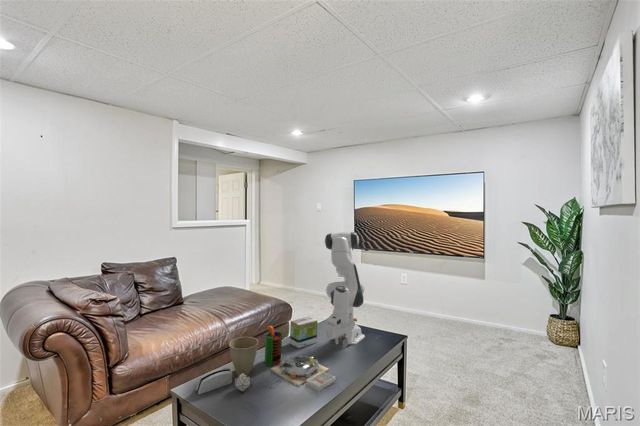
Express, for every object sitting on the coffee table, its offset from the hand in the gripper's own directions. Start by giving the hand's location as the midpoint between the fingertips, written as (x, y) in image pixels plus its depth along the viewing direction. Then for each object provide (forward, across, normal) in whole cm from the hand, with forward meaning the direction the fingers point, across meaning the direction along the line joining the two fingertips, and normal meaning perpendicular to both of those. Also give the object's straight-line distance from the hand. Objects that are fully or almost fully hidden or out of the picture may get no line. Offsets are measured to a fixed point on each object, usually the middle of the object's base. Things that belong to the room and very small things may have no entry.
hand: (340, 341), depth 179 cm
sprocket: (+13, +17, -14) cm, 26 cm away
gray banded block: (+2, 0, 0) cm, 2 cm away
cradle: (+14, +18, +3) cm, 23 cm away
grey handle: (+15, +57, -32) cm, 67 cm away
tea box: (+15, -9, -38) cm, 42 cm away
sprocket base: (+15, +17, -14) cm, 26 cm away
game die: (+15, +49, -20) cm, 55 cm away
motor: (+15, +21, -32) cm, 41 cm away
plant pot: (+15, +39, -34) cm, 54 cm away
